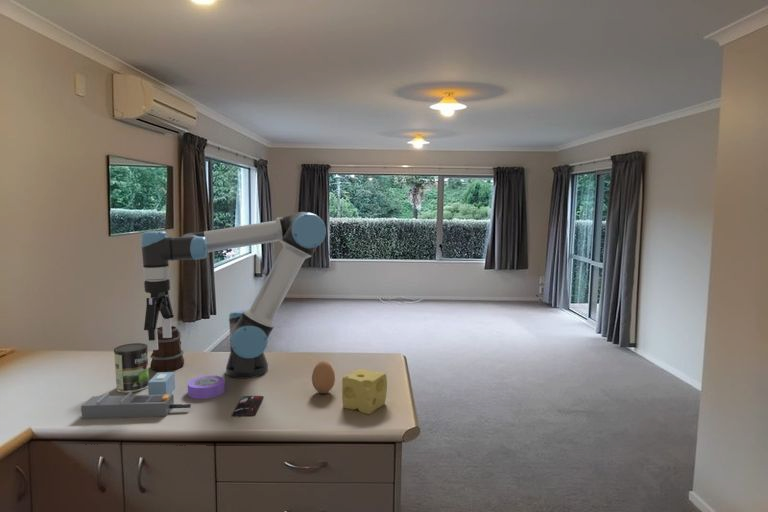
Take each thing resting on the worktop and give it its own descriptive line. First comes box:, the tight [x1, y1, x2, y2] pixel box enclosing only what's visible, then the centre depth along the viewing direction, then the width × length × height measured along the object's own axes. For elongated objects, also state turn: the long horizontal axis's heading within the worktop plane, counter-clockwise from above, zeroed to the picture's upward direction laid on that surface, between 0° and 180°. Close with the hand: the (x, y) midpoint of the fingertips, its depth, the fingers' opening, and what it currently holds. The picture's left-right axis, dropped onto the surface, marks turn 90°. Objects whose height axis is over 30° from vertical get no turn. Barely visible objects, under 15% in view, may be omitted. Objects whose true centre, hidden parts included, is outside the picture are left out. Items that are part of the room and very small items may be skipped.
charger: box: [147, 371, 176, 395], centre depth 169 cm, size 6×9×6 cm, turn 6°
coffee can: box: [113, 342, 150, 394], centre depth 174 cm, size 10×10×14 cm
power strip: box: [80, 392, 192, 420], centre depth 155 cm, size 30×7×5 cm, turn 95°
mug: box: [149, 325, 185, 372], centre depth 197 cm, size 16×12×15 cm
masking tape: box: [187, 375, 226, 400], centre depth 171 cm, size 12×12×4 cm
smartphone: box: [231, 395, 265, 418], centre depth 160 cm, size 7×1×15 cm
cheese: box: [341, 368, 388, 415], centre depth 160 cm, size 10×11×10 cm
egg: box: [311, 360, 336, 394], centre depth 170 cm, size 8×8×11 cm
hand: (160, 343), depth 167 cm, fingers open, 13 cm apart
